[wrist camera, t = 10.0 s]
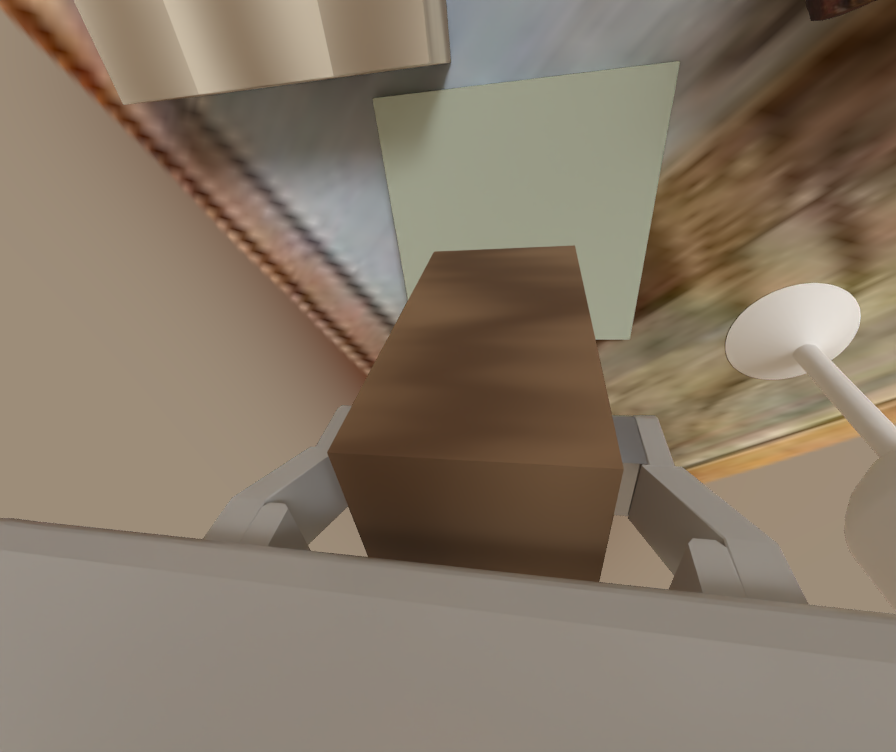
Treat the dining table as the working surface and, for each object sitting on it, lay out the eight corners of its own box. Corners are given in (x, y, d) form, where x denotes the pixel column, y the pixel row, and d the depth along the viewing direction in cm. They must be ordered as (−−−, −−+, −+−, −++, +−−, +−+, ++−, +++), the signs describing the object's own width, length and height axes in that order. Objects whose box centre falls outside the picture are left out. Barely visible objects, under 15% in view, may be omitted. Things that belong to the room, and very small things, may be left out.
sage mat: (677, 61, 18) (680, 61, 18) (628, 335, 26) (629, 339, 26) (375, 97, 21) (372, 98, 21) (416, 335, 29) (414, 339, 29)
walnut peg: (574, 245, 14) (623, 469, 6) (565, 364, 17) (591, 616, 9) (433, 251, 15) (326, 452, 7) (448, 362, 18) (381, 591, 10)
